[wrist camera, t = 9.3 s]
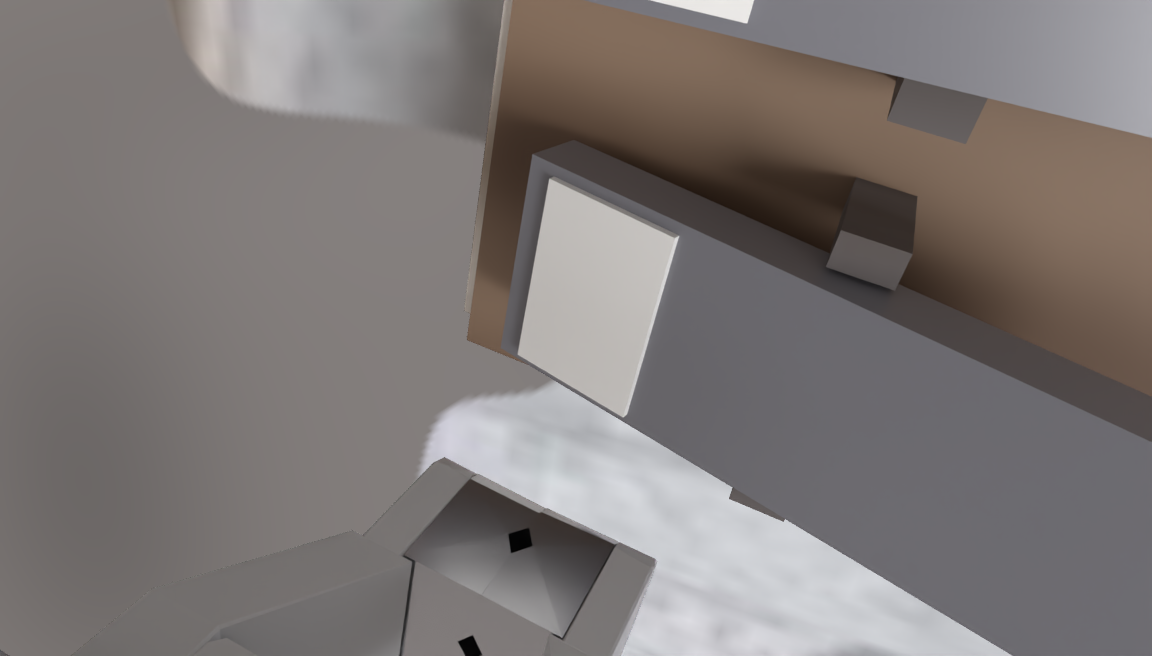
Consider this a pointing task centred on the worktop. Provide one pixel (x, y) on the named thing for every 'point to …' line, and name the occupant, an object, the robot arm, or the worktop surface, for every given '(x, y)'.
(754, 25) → the rocker middle
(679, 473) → the worktop surface
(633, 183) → the rocker
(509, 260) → the switch unit
